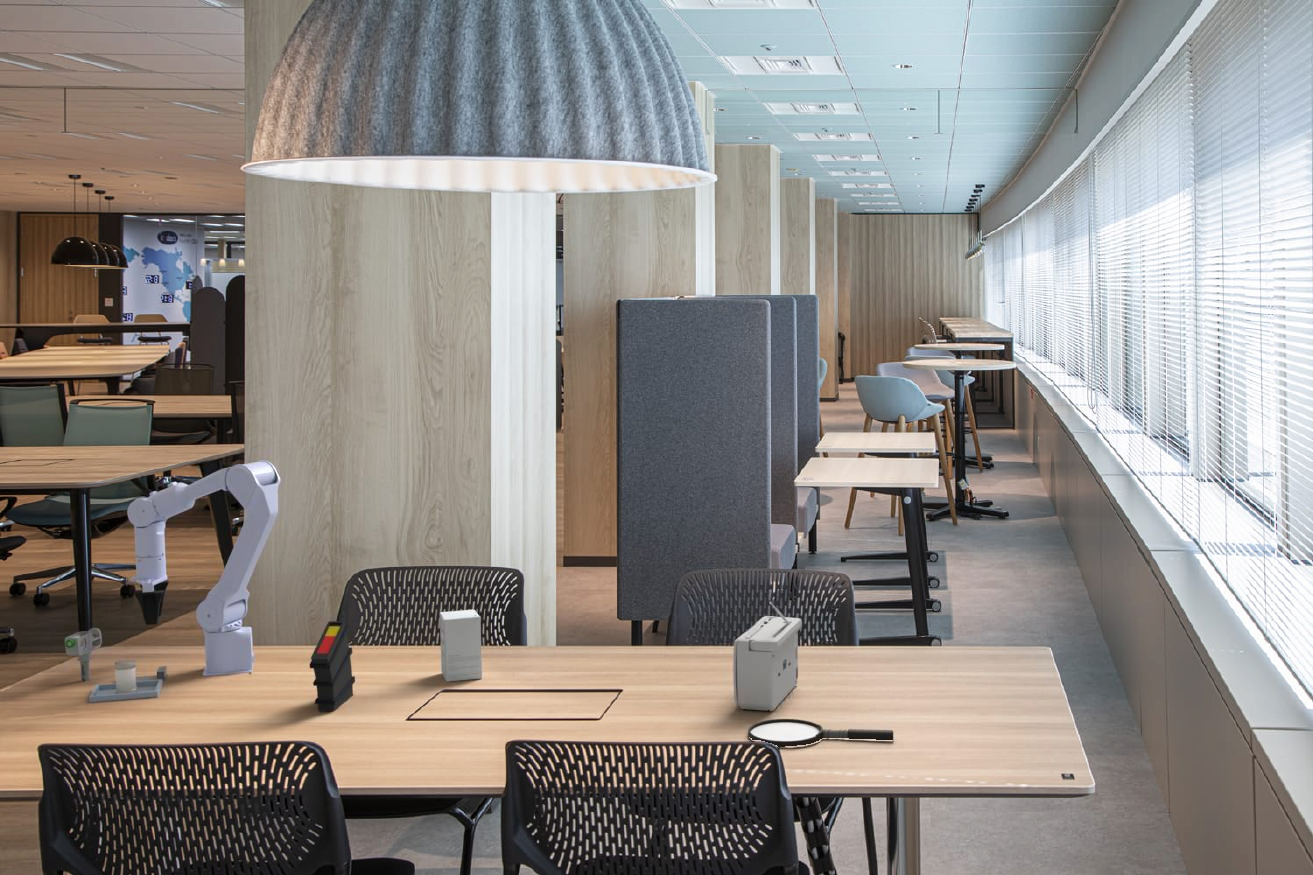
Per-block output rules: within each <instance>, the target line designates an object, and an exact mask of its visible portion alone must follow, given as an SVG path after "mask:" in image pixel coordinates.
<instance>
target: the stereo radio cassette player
mask: <svg viewBox="0 0 1313 875" xmlns="http://www.w3.org/2000/svg"><path fill="white" fill-rule="evenodd" d="M768 603H769V605H771V606H772V608H773V609H774V611H775V612H776V613H777V614H778V615H779V616H771V615H770V616H769V615H765V616H763V617H761V618H759V620H758V621H757V622H755V623H754V624H753V625H752V626H751V627H749V629H746V631H744V633H742V634H741V635H740V636H739V637H738V638H736V639H735V640H734V644H733V663H732V664H733V665H732V666H733V668H732V670H733V672H732V673H733V674H732V676H733V678H732V679H733V680H732V681H733V695H734V697H733V698H734V704H735V706H739V708H740V709H742V710H743V709H746V710H756V711H768V710H770V711H772V712H773V711H775V710H776V708H777V707H778V706H779V705H780V703H782V701H783V700H784V699H785V698H786V697H787V696H788V695H789V693H790V692H792V690H793V689H794V688H795V687H796V686H797V684H798V677H799V656H798V655H799V653H798V652H799V651H798V650H799V649H798V648H799V645H798V644H799V641H798V640H799V639H798V635H799V634H798V633H799V630H801V629H802V625H803V623H802V619H801V618H798V617H788V616H785V615H783V614H782V612H780V610H779V609H778V608H777V607H776V606H775V605H774V604H773V602H772V601H769V602H768ZM770 711H769V712H770Z"/></svg>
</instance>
